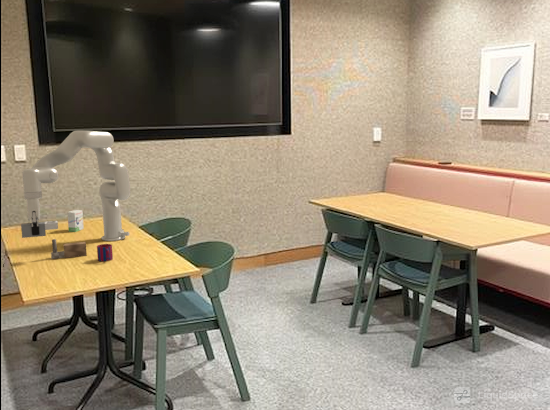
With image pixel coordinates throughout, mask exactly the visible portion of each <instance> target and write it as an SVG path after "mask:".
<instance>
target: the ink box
mask: <svg viewBox="0 0 550 410" xmlns="http://www.w3.org/2000/svg"><path fill="white" fill-rule="evenodd" d="M67 223H68V224H67V225H68V226H67V227H68V232H71V233H76V232H80V231H82V230H84V215H83V209H73V210H70V211H68V212H67Z"/></svg>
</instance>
